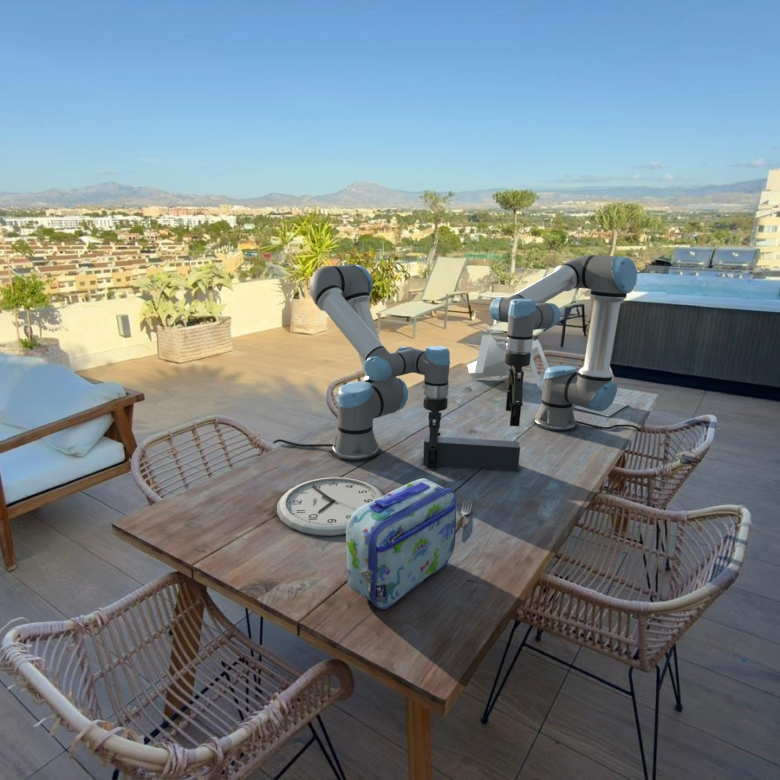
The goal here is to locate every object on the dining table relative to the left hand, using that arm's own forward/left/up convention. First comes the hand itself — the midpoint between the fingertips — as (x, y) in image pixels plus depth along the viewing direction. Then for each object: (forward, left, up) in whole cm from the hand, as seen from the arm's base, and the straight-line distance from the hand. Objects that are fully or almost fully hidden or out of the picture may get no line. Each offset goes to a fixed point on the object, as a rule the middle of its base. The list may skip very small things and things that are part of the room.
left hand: (432, 461), depth 170 cm
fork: (+22, -28, 0) cm, 36 cm away
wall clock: (-11, -40, 0) cm, 41 cm away
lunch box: (+21, -57, 0) cm, 61 cm away
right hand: (+22, +10, +16) cm, 29 cm away
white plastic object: (-8, +97, 0) cm, 97 cm away
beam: (+11, +5, 0) cm, 12 cm away
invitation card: (+37, +90, 0) cm, 97 cm away
